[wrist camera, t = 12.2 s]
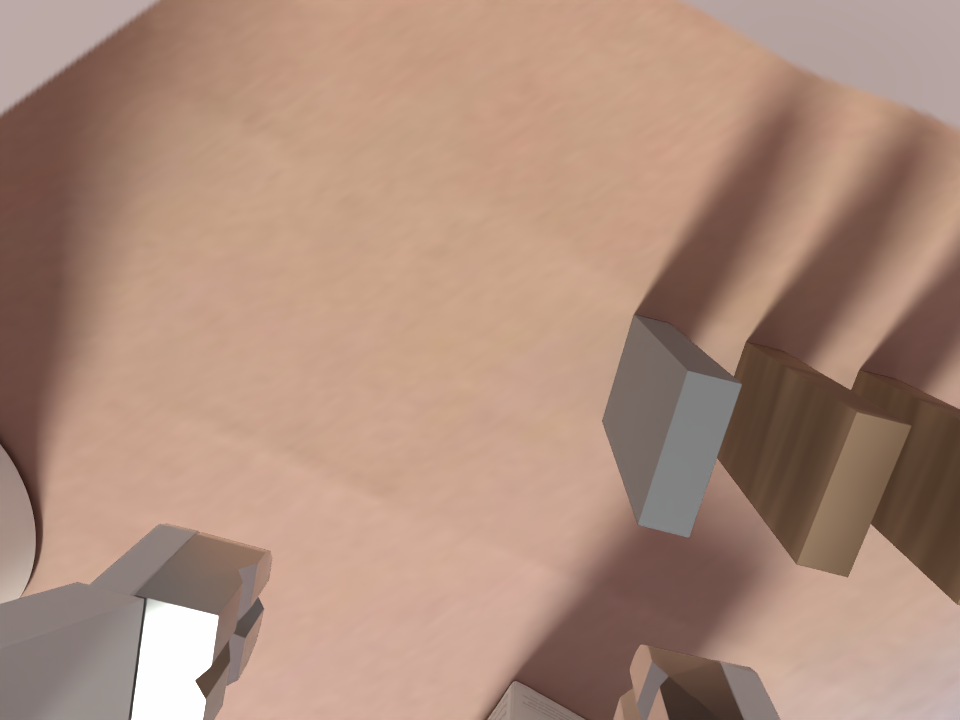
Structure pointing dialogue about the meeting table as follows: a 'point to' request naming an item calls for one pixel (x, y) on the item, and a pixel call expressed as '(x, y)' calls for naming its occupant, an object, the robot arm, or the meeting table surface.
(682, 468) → the gray domino
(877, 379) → the domino
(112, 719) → the robot arm
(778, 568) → the meeting table surface
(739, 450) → the domino
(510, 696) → the supplement box
